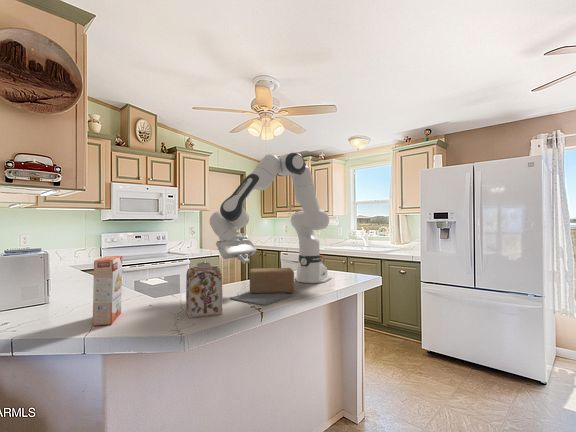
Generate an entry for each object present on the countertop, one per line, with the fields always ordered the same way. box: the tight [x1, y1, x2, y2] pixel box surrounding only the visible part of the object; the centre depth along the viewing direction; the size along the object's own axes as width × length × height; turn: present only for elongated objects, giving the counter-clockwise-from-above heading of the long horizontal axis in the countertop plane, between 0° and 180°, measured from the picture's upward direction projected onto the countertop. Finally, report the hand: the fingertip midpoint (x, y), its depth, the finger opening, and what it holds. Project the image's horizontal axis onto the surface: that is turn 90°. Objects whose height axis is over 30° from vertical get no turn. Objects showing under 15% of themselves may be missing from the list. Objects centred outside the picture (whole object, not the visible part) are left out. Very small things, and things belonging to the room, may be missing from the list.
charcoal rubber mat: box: [229, 291, 294, 307], centre depth 137 cm, size 20×19×1 cm
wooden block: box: [249, 267, 295, 294], centre depth 147 cm, size 10×10×20 cm
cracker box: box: [92, 255, 123, 327], centre depth 107 cm, size 14×6×21 cm, turn 17°
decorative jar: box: [185, 261, 223, 319], centre depth 115 cm, size 12×12×18 cm
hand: (246, 262), depth 142 cm, fingers closed
